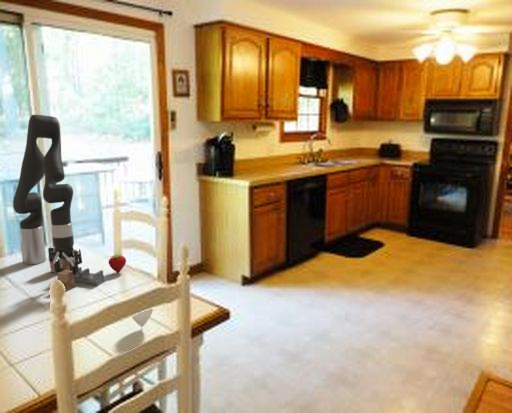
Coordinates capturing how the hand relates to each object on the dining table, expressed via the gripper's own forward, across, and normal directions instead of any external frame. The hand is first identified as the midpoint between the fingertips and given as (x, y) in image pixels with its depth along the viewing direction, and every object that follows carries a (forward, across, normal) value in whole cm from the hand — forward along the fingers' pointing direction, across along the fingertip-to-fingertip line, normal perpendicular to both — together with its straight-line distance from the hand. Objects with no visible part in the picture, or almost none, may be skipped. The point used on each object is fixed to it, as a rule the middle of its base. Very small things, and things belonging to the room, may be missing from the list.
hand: (66, 273), depth 166 cm
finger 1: (+4, -6, +8) cm, 11 cm away
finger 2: (+7, 0, 0) cm, 7 cm away
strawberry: (+7, +9, +21) cm, 24 cm away
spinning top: (+8, +46, -18) cm, 50 cm away
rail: (+7, 0, +8) cm, 10 cm away
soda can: (+6, -17, +14) cm, 23 cm away
